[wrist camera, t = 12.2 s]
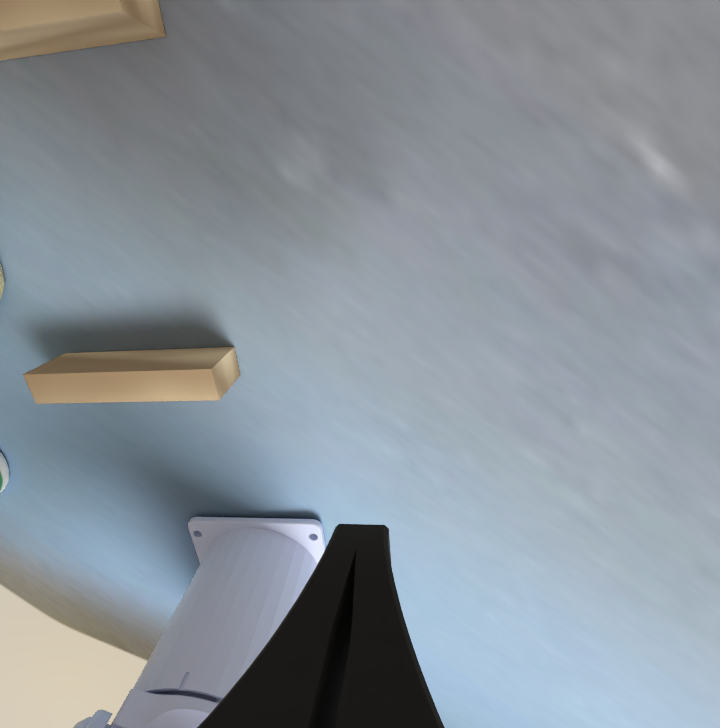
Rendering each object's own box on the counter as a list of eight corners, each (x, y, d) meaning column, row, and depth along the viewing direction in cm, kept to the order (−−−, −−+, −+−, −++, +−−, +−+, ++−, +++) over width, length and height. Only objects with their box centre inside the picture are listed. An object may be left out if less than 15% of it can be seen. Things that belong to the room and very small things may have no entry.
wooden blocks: (240, 375, 20) (219, 400, 18) (75, 379, 21) (36, 403, 19) (154, -17, 14) (105, -54, 12) (-70, 19, 15) (-152, -8, 13)
